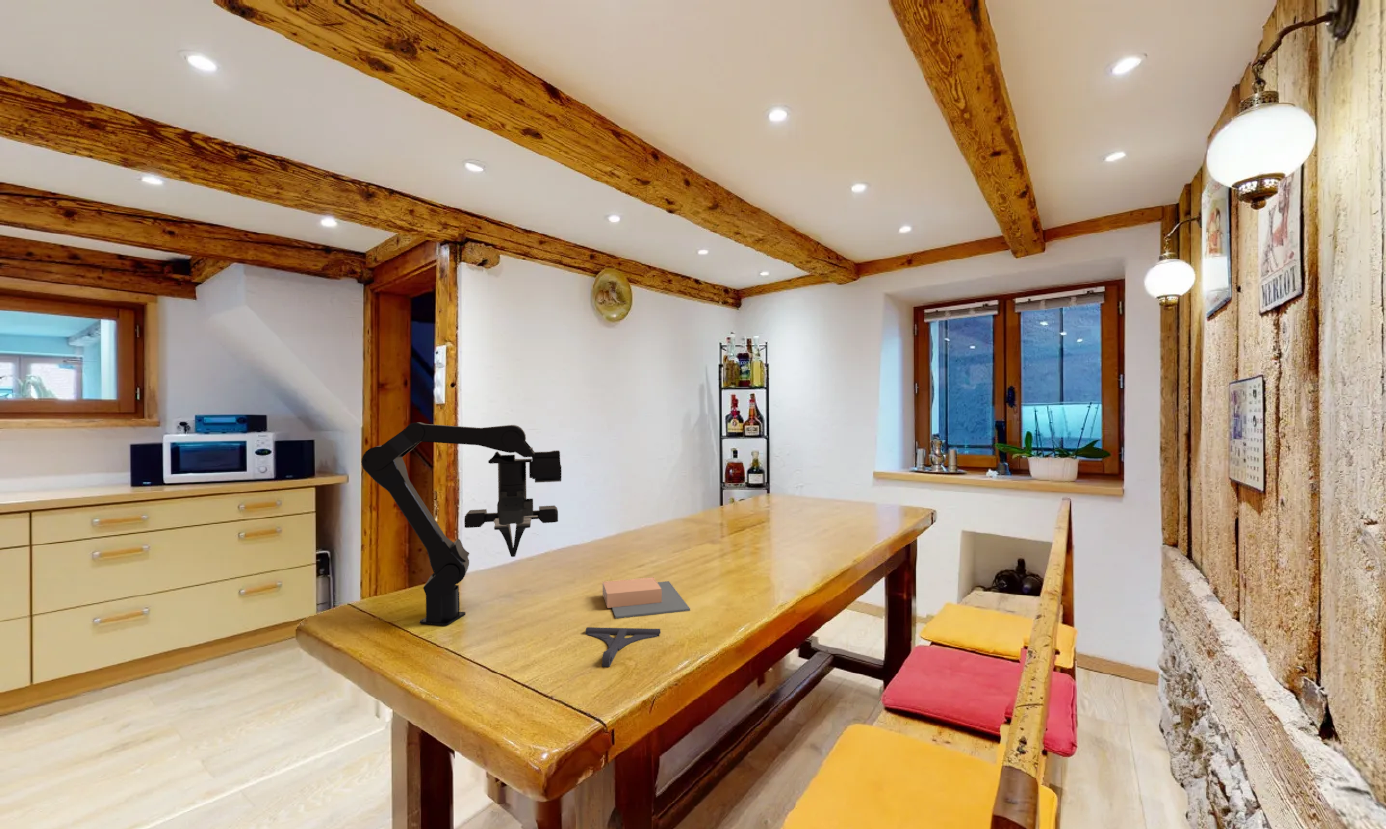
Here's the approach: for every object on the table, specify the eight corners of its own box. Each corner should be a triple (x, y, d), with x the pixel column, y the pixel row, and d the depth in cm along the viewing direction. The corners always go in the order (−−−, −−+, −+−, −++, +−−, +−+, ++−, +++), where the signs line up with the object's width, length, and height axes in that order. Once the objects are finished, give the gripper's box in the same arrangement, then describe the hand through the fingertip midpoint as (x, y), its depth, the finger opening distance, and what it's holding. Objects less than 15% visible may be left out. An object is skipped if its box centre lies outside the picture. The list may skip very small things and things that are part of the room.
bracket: (563, 670, 94) (563, 653, 94) (587, 634, 108) (587, 620, 108) (648, 673, 92) (648, 656, 92) (660, 636, 107) (660, 622, 107)
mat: (615, 618, 115) (615, 616, 115) (604, 588, 134) (604, 587, 134) (690, 610, 119) (690, 608, 119) (668, 582, 138) (668, 581, 138)
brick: (607, 594, 120) (661, 588, 123) (602, 581, 128) (653, 577, 132) (607, 608, 120) (661, 602, 123) (602, 594, 128) (653, 589, 132)
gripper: (460, 491, 108) (461, 570, 108) (558, 486, 113) (559, 562, 113) (467, 483, 119) (468, 556, 119) (556, 480, 124) (557, 549, 124)
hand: (513, 556), depth 119 cm, fingers closed
